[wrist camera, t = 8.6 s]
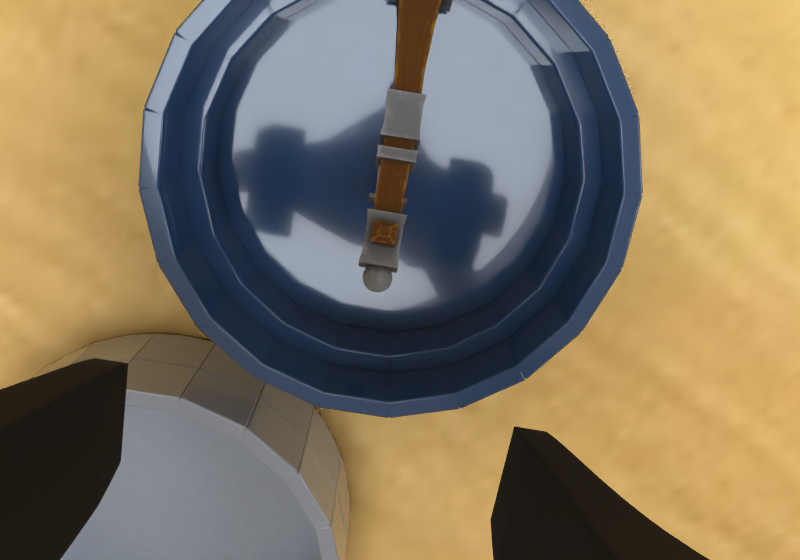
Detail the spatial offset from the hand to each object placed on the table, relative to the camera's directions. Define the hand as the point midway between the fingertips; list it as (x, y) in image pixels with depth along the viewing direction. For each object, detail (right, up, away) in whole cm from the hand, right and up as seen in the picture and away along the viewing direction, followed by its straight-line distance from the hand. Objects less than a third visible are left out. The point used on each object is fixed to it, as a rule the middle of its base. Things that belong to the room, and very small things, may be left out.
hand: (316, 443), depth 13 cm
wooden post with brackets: (+2, +8, +7) cm, 10 cm away
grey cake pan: (-6, -4, +11) cm, 13 cm away
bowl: (+1, +6, +8) cm, 10 cm away
